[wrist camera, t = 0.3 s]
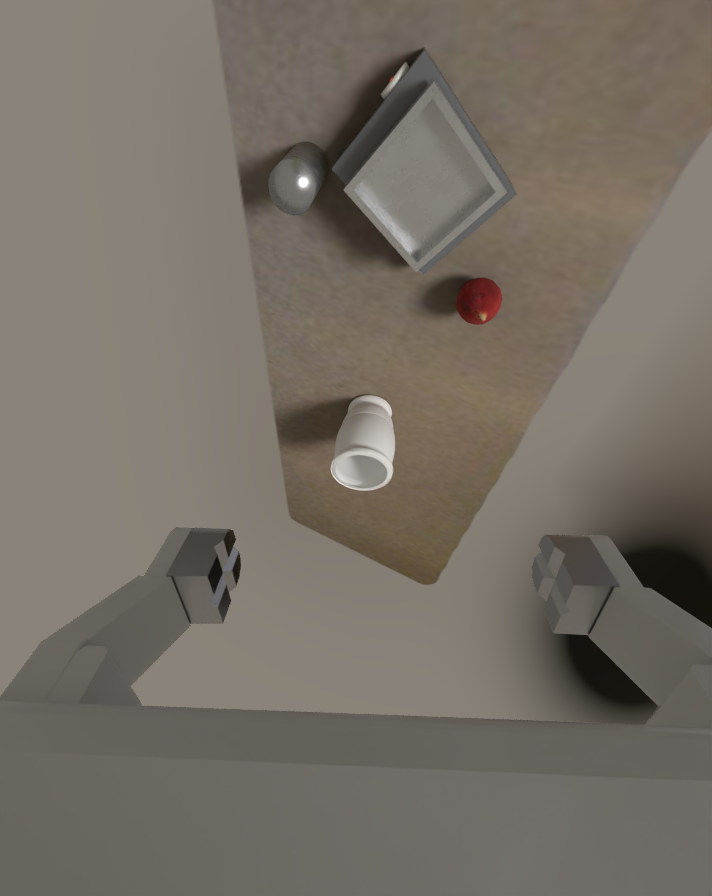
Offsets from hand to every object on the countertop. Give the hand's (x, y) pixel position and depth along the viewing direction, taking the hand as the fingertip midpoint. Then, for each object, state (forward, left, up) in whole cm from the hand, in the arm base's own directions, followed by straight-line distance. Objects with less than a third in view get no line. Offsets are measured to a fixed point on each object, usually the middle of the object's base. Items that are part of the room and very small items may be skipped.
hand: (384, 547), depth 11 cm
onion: (+5, +19, -51) cm, 54 cm away
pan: (+1, +3, -46) cm, 46 cm away
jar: (+33, +26, -51) cm, 66 cm away
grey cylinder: (+11, -7, -51) cm, 52 cm away
